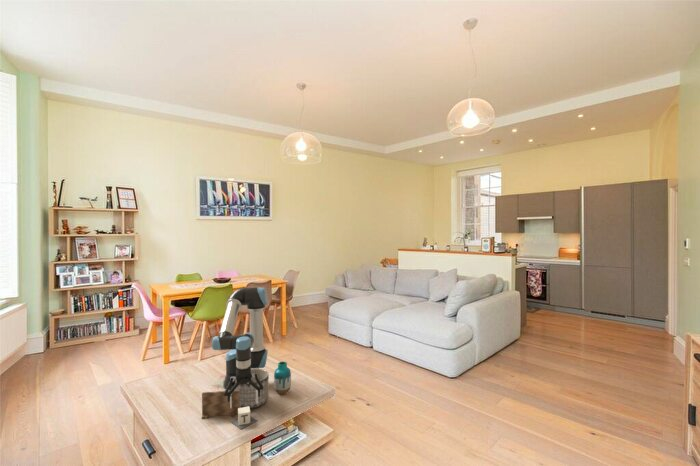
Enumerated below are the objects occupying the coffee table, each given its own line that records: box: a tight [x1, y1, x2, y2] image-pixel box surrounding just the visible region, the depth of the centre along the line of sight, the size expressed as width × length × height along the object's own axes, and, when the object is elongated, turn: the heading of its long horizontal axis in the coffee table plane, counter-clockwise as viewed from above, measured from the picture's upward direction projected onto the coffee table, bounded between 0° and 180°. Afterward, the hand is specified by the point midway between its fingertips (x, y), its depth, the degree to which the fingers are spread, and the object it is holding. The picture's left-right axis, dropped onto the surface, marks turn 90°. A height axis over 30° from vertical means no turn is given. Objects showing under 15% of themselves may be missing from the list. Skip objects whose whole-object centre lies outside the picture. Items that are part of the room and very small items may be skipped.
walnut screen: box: [201, 390, 241, 420], centre depth 185 cm, size 20×6×13 cm, turn 97°
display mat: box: [230, 415, 258, 430], centre depth 178 cm, size 10×10×1 cm
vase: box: [273, 360, 292, 395], centre depth 209 cm, size 11×11×19 cm
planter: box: [235, 368, 270, 409], centre depth 197 cm, size 19×19×16 cm
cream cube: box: [237, 406, 251, 425], centre depth 178 cm, size 6×6×6 cm
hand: (244, 404), depth 178 cm, fingers open, 13 cm apart
